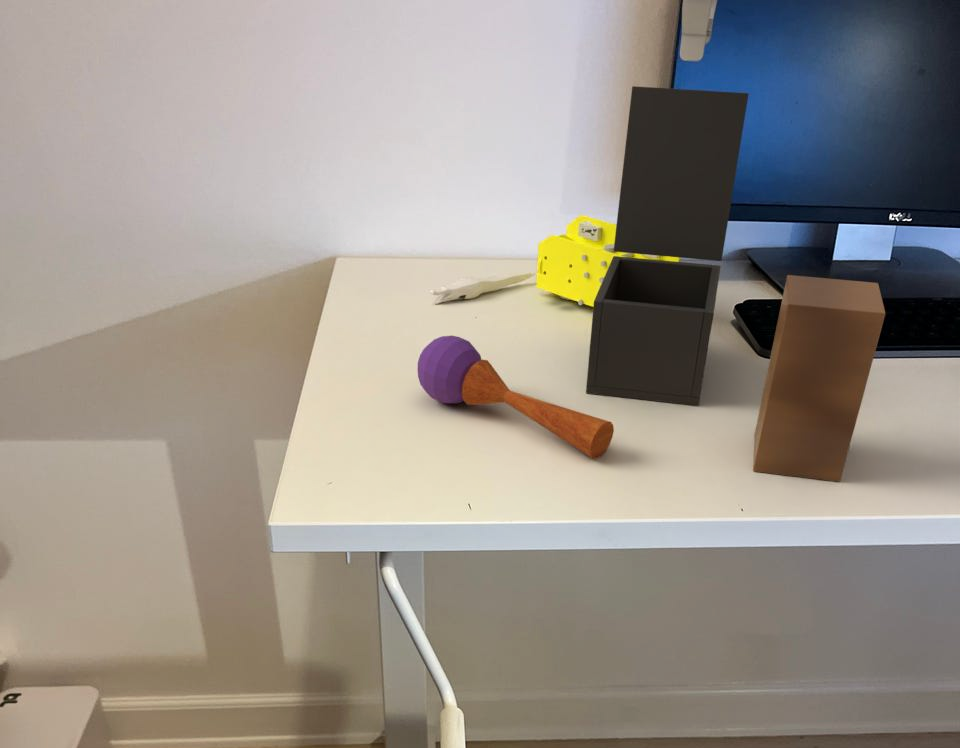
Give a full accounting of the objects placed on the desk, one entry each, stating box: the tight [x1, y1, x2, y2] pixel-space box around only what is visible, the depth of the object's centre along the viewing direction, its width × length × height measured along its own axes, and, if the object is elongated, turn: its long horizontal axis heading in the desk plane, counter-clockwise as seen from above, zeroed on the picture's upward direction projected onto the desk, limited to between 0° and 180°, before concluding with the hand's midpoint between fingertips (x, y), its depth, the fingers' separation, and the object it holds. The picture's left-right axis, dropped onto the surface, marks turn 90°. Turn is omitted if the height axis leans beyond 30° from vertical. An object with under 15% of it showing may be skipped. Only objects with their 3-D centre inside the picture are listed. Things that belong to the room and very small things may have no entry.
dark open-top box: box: [585, 256, 722, 407], centre depth 96 cm, size 14×11×9 cm
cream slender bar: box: [429, 272, 536, 305], centre depth 115 cm, size 15×3×2 cm, turn 125°
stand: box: [752, 274, 886, 483], centre depth 80 cm, size 7×7×14 cm
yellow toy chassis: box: [535, 214, 681, 307], centre depth 110 cm, size 16×6×8 cm, turn 44°
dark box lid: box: [614, 85, 750, 262], centre depth 97 cm, size 14×11×5 cm
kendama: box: [417, 335, 614, 460], centre depth 87 cm, size 6×6×20 cm
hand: (695, 51), depth 81 cm, fingers open, 8 cm apart
